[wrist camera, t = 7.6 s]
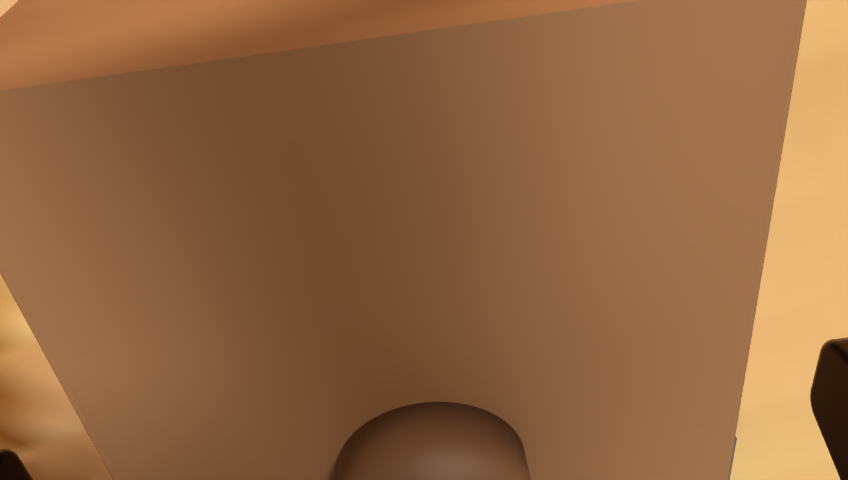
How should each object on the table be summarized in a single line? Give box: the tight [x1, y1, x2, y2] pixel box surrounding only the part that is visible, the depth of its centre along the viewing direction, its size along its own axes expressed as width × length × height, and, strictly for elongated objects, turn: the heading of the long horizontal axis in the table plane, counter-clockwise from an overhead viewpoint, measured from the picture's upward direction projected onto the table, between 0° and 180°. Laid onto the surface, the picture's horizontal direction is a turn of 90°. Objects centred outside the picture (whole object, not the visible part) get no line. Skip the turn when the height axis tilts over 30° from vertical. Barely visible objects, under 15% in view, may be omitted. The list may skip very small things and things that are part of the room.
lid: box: [0, 0, 807, 480], centre depth 9 cm, size 6×10×4 cm
